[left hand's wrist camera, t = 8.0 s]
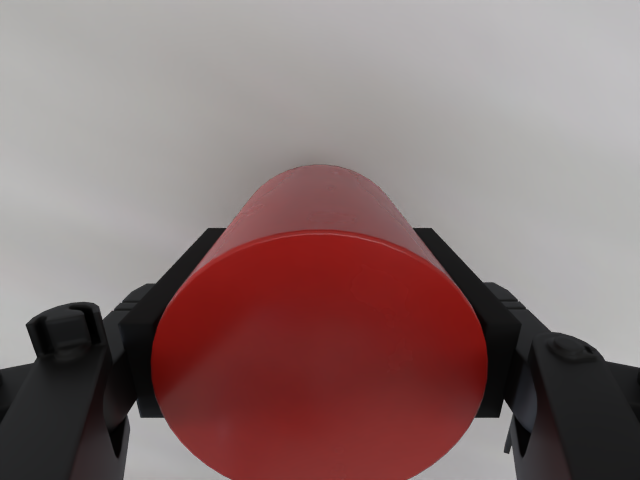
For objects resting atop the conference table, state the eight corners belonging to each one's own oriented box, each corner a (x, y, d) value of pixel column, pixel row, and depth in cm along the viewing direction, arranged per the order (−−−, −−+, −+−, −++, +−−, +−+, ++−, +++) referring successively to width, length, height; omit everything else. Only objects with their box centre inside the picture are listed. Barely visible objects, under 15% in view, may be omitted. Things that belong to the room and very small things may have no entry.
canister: (424, 183, 14) (547, 269, 6) (379, 331, 17) (429, 517, 9) (246, 147, 14) (153, 195, 6) (227, 306, 16) (145, 480, 9)
